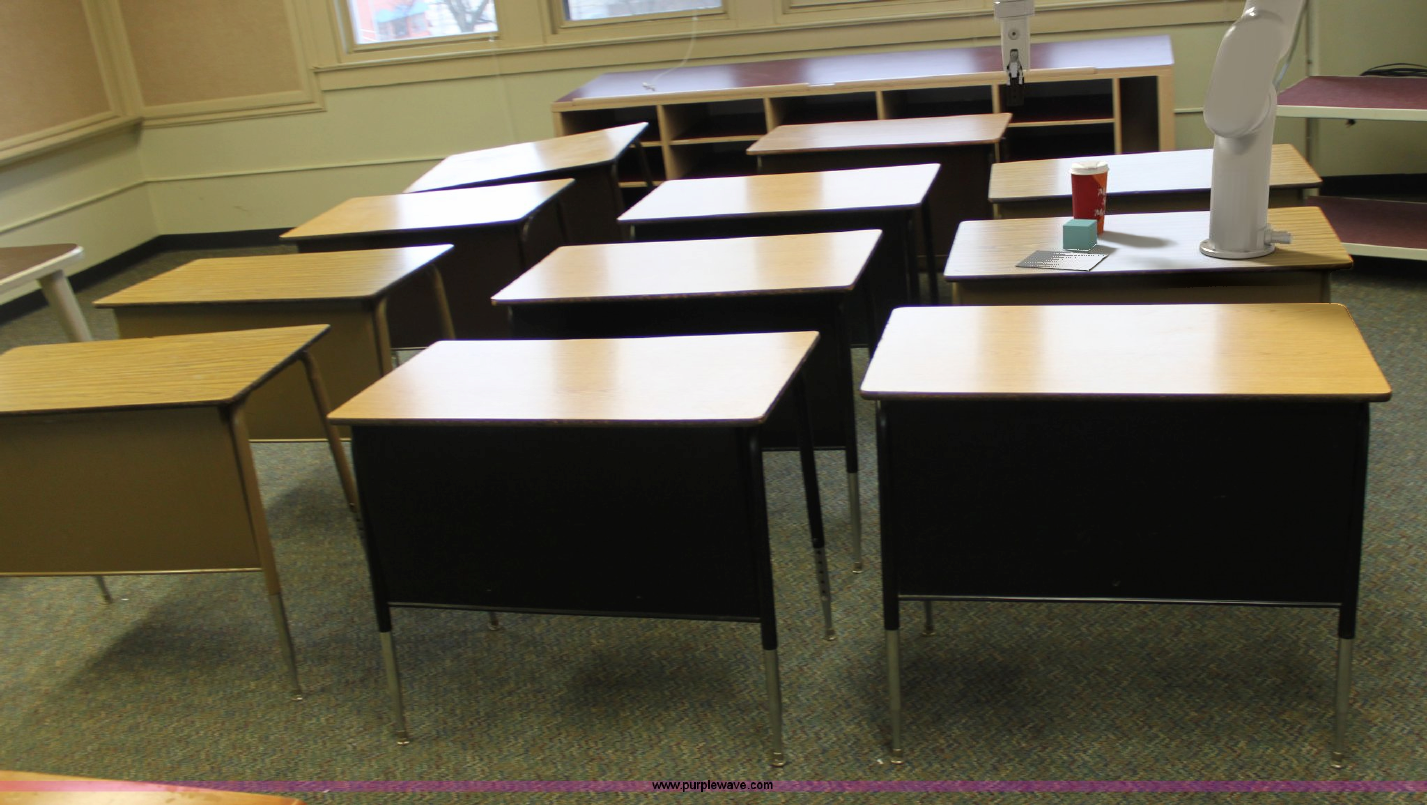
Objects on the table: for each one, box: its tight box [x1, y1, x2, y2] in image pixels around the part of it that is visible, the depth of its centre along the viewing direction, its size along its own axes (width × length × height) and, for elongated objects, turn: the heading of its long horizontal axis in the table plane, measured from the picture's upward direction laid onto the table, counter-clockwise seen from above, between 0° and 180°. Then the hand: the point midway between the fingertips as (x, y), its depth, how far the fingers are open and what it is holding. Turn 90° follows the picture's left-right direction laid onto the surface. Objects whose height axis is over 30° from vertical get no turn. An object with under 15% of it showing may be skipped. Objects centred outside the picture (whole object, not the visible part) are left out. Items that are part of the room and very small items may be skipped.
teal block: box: [1062, 218, 1098, 251], centre depth 221 cm, size 5×5×5 cm
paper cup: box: [1069, 160, 1110, 236], centre depth 229 cm, size 8×8×14 cm
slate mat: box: [1015, 249, 1104, 268], centre depth 215 cm, size 14×11×1 cm
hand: (1015, 101), depth 221 cm, fingers open, 9 cm apart
